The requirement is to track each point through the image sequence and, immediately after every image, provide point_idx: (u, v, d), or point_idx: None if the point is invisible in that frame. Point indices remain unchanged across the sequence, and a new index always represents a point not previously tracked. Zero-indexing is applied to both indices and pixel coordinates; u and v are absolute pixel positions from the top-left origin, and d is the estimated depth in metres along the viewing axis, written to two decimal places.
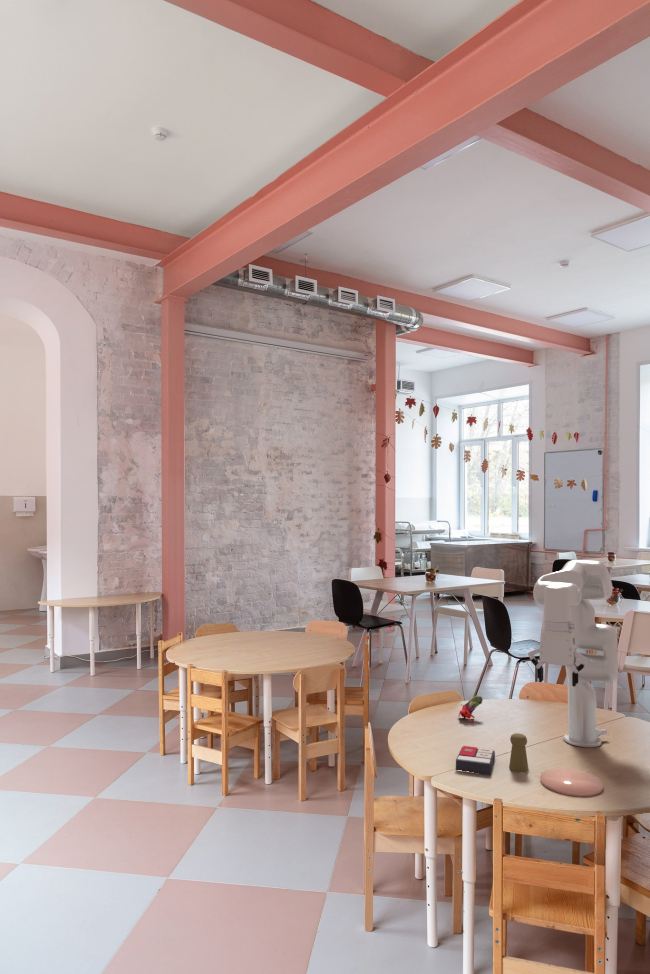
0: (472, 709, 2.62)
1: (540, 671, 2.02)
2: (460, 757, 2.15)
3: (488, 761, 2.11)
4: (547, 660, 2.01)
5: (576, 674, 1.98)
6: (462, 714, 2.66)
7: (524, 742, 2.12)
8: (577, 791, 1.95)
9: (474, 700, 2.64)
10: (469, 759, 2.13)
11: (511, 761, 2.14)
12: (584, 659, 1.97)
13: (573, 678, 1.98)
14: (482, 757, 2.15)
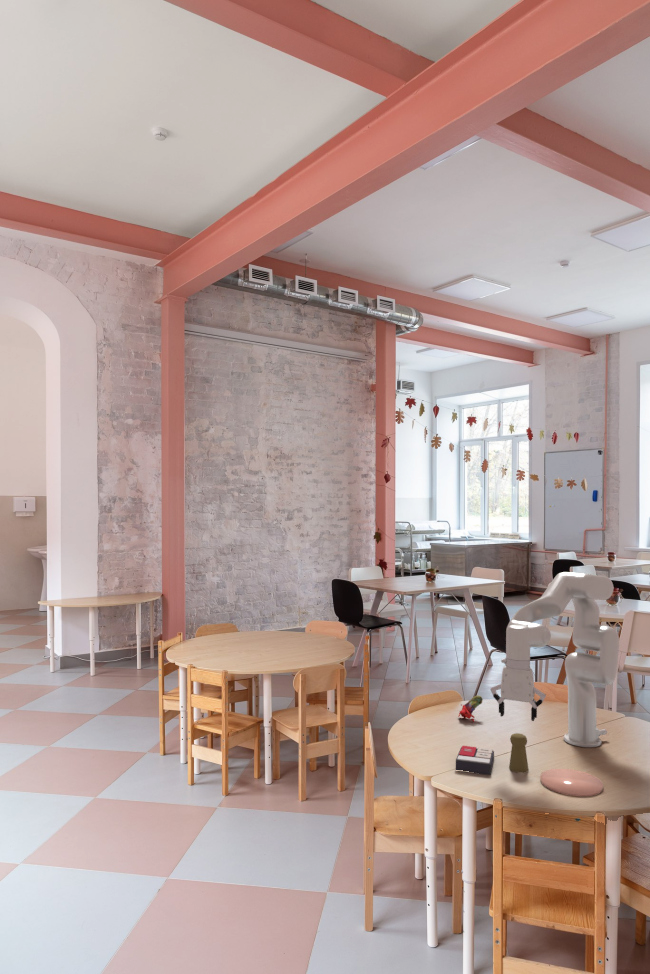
0: (472, 709, 2.62)
1: None
2: (460, 757, 2.15)
3: (488, 761, 2.12)
4: None
5: None
6: (462, 714, 2.66)
7: (524, 742, 2.12)
8: (577, 791, 1.95)
9: (474, 700, 2.64)
10: (469, 759, 2.13)
11: (511, 761, 2.14)
12: None
13: None
14: (482, 757, 2.15)
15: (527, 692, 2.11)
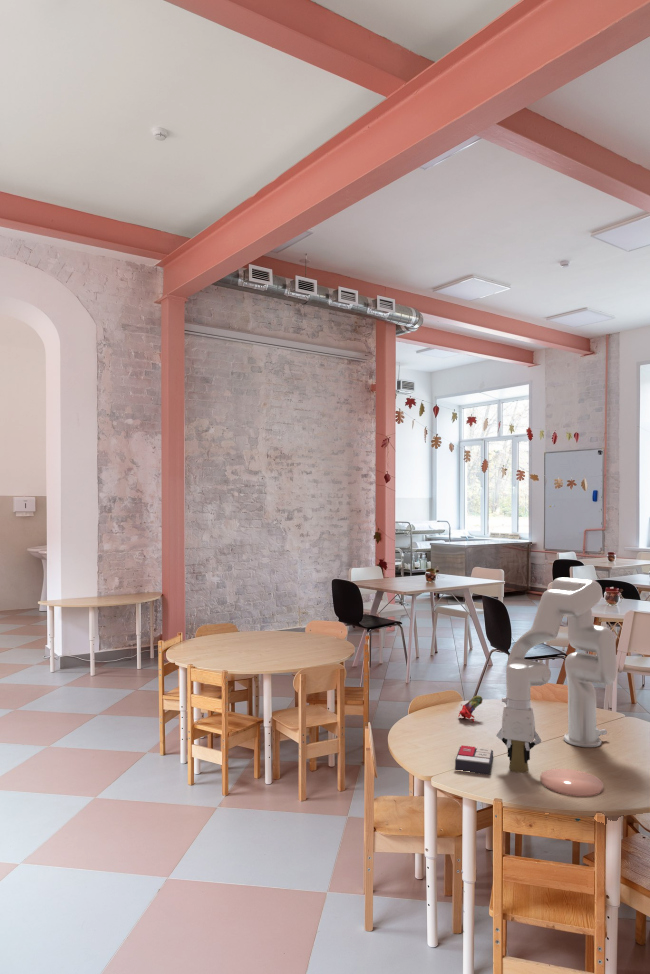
0: (472, 709, 2.62)
1: None
2: (459, 757, 2.15)
3: (487, 761, 2.12)
4: None
5: None
6: (462, 714, 2.66)
7: (524, 742, 2.13)
8: (577, 791, 1.95)
9: (474, 700, 2.64)
10: (468, 759, 2.13)
11: (511, 761, 2.14)
12: None
13: None
14: (481, 757, 2.15)
15: (528, 732, 2.11)
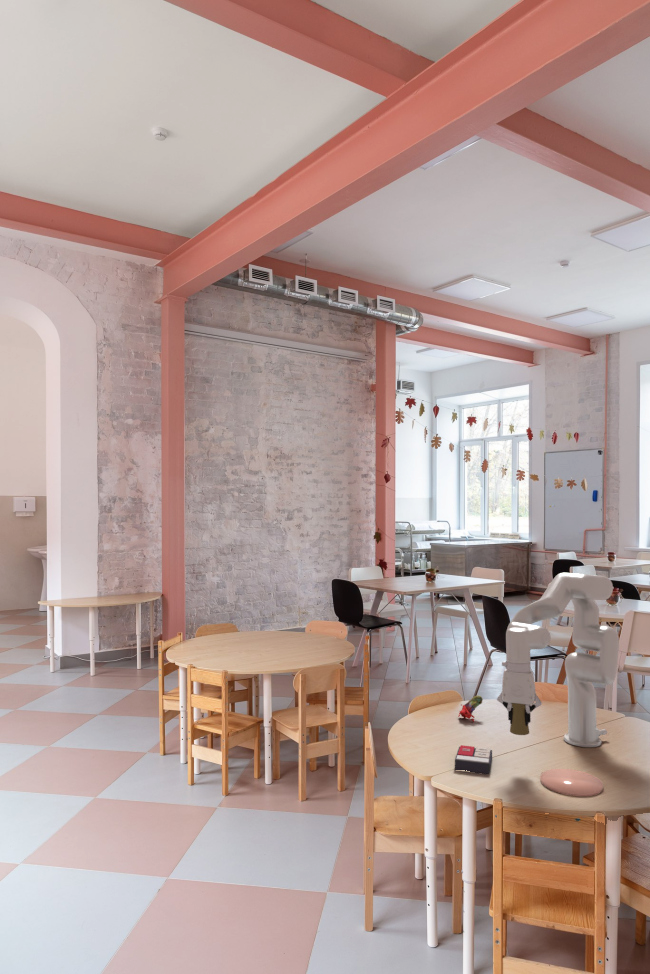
0: (472, 709, 2.62)
1: None
2: (459, 757, 2.15)
3: (487, 760, 2.12)
4: None
5: None
6: (462, 714, 2.66)
7: (524, 705, 2.13)
8: (577, 791, 1.95)
9: (474, 700, 2.64)
10: (468, 759, 2.13)
11: (512, 724, 2.15)
12: None
13: None
14: (480, 756, 2.15)
15: (528, 695, 2.11)
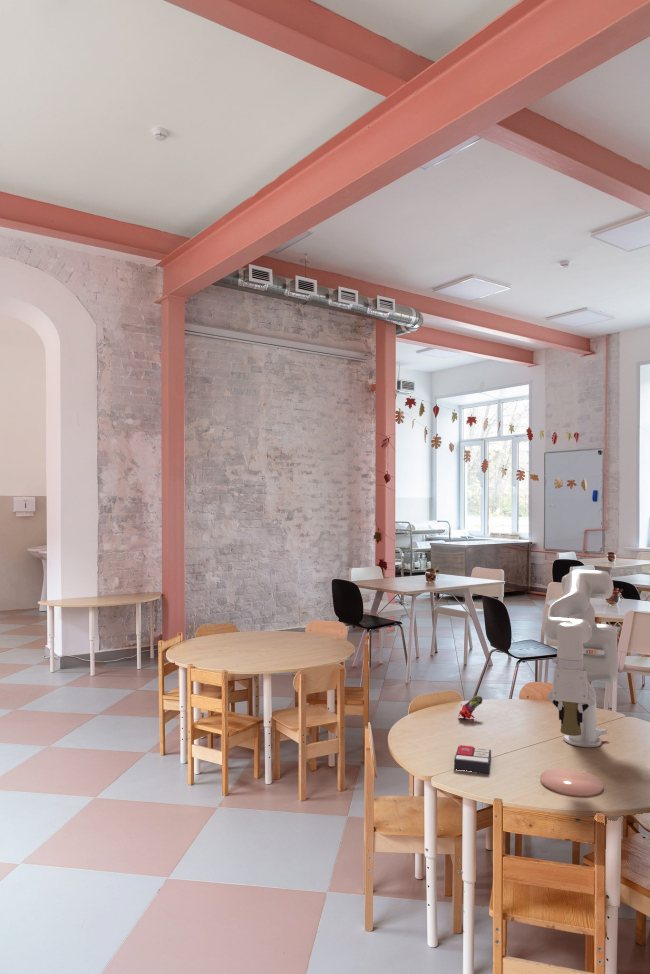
0: (472, 709, 2.62)
1: None
2: (458, 756, 2.15)
3: (486, 760, 2.12)
4: None
5: None
6: (462, 714, 2.66)
7: (577, 704, 2.02)
8: (577, 791, 1.95)
9: (474, 700, 2.64)
10: (467, 758, 2.14)
11: (563, 724, 2.03)
12: None
13: None
14: (480, 756, 2.16)
15: (581, 693, 2.00)
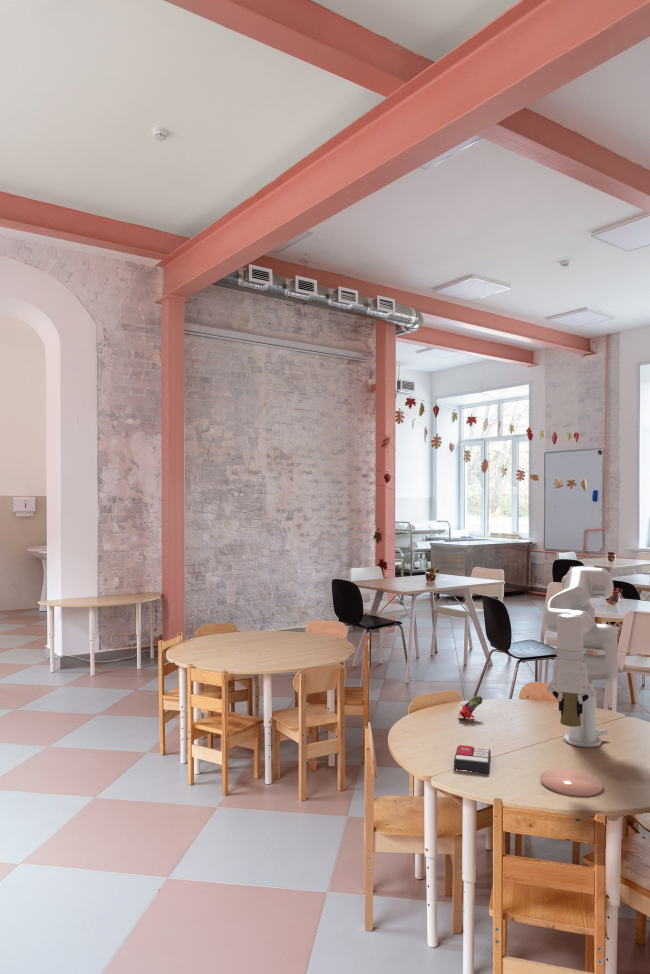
0: (472, 709, 2.62)
1: None
2: (458, 756, 2.15)
3: (486, 760, 2.12)
4: None
5: None
6: (462, 714, 2.66)
7: (577, 695, 2.02)
8: (577, 791, 1.95)
9: (474, 700, 2.64)
10: (467, 758, 2.14)
11: (563, 715, 2.03)
12: None
13: None
14: (479, 756, 2.16)
15: (581, 684, 2.00)
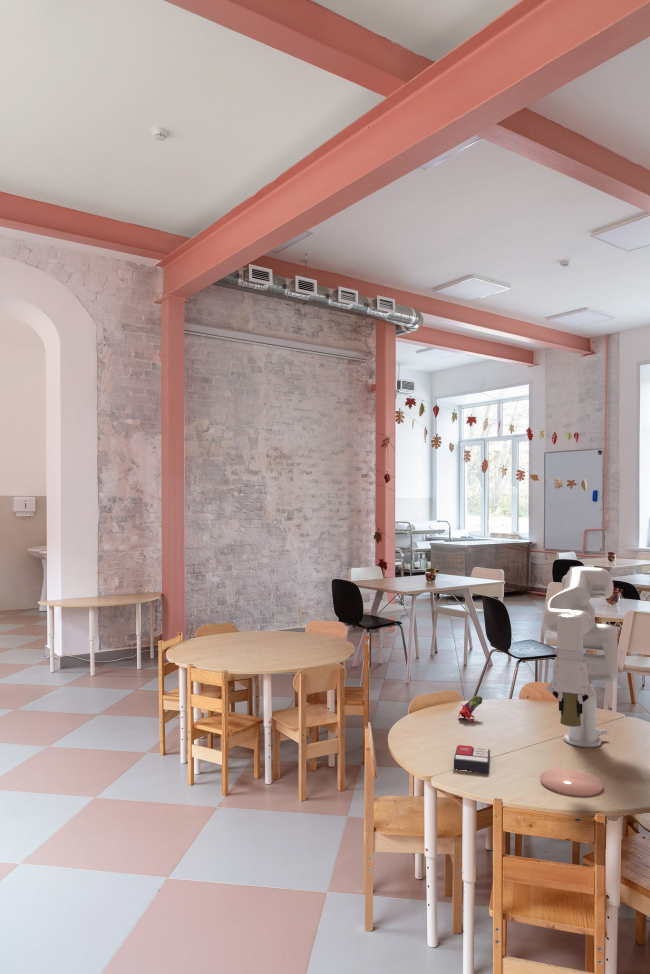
0: (472, 709, 2.62)
1: None
2: (458, 756, 2.15)
3: (486, 760, 2.12)
4: None
5: None
6: (462, 714, 2.66)
7: (577, 695, 2.02)
8: (577, 791, 1.95)
9: (474, 700, 2.64)
10: (467, 758, 2.14)
11: (563, 715, 2.03)
12: None
13: None
14: (479, 756, 2.16)
15: (581, 684, 2.00)
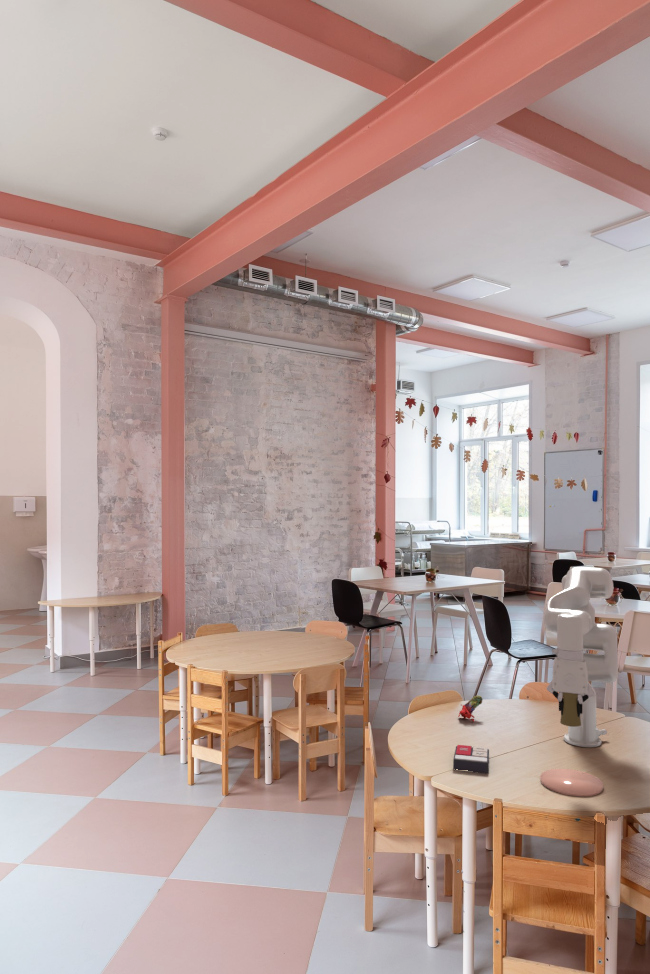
0: (472, 709, 2.62)
1: None
2: (457, 756, 2.15)
3: (485, 760, 2.13)
4: None
5: None
6: (462, 714, 2.66)
7: (577, 695, 2.02)
8: (577, 791, 1.95)
9: (474, 700, 2.64)
10: (466, 758, 2.14)
11: (563, 715, 2.03)
12: None
13: None
14: (479, 756, 2.16)
15: (581, 684, 2.00)
